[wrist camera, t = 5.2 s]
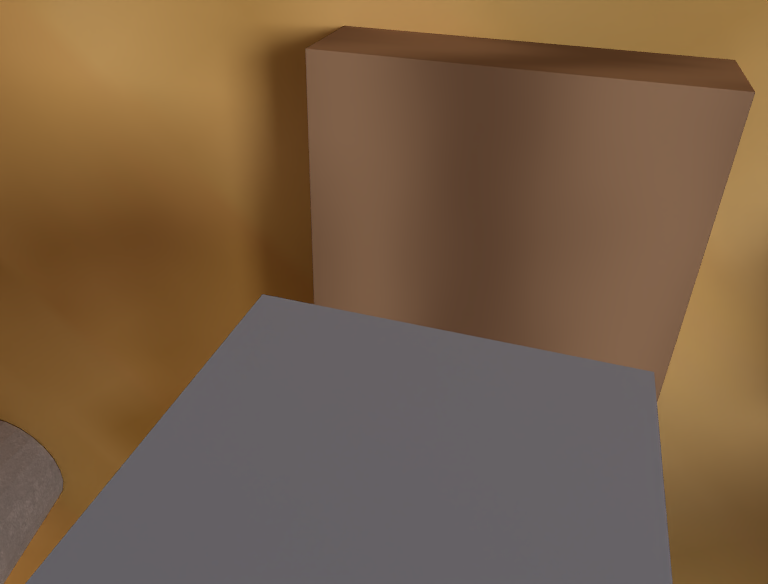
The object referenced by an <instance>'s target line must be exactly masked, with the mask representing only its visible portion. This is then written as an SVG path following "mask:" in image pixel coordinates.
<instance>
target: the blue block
mask: <svg viewBox="0 0 768 584" xmlns="http://www.w3.org/2000/svg"><path fill="white" fill-rule="evenodd" d="M26 584H673V583H672V572H671V560H670V549H669V537H668V526H667V514H666V503H665V491H664V480H663V468H662V457H661V445H660V434H659V422H658V411H657V399H656V388H655V376H654V372H652V371H646V370H641V369H636V368H631V367H626V366H621V365H616V364H611V363H606V362H601V361H596V360H591V359H586V358H581V357H576V356H571V355H566V354H561V353H556V352H551V351H546V350H541V349H536V348H531V347H526V346H521V345H516V344H511V343H506V342H500V341H495V340H490V339H485V338H480V337H475V336H470V335H465V334H460V333H455V332H450V331H445V330H440V329H435V328H430V327H425V326H420V325H415V324H410V323H405V322H400V321H395V320H390V319H385V318H380V317H375V316H370V315H365V314H360V313H355V312H349V311H344V310H339V309H334V308H329V307H324V306H319V305H314V304H309V303H304V302H299V301H294V300H289V299H284V298H279V297H274V296H269V295H264V294H262V296H261V297H260V298H259V299H258V300H257V302H256V303H255V304H254V305H253V307H252V308H251V309H250V310H249V311H248V313H247V314H246V315H245V316H244V318H243V319H242V320H241V321H240V322H239V324H238V325H237V326H236V327H235V329H234V330H233V331H232V332H231V333H230V335H229V336H228V337H227V338H226V340H225V341H224V342H223V343H222V344H221V346H220V347H219V348H218V349H217V351H216V352H215V353H214V354H213V355H212V357H211V358H210V359H209V360H208V361H207V363H206V364H205V365H204V366H203V368H202V369H201V370H200V371H199V372H198V374H197V375H196V376H195V377H194V379H193V380H192V381H191V382H190V383H189V385H188V386H187V387H186V388H185V390H184V391H183V392H182V393H181V394H180V396H179V397H178V398H177V399H176V401H175V402H174V403H173V404H172V405H171V407H170V408H169V409H168V410H167V412H166V413H165V414H164V415H163V416H162V418H161V419H160V420H159V421H158V422H157V424H156V425H155V426H154V427H153V429H152V430H151V431H150V432H149V433H148V435H147V436H146V437H145V438H144V440H143V441H142V442H141V443H140V444H139V446H138V447H137V448H136V449H135V451H134V452H133V453H132V454H131V455H130V457H129V458H128V459H127V460H126V462H125V463H124V464H123V465H122V466H121V468H120V469H119V470H118V471H117V473H116V474H115V475H114V476H113V477H112V479H111V480H110V481H109V482H108V483H107V485H106V486H105V487H104V488H103V490H102V491H101V492H100V493H99V494H98V496H97V497H96V498H95V499H94V501H93V502H92V503H91V504H90V505H89V507H88V508H87V509H86V510H85V512H84V513H83V514H82V515H81V516H80V518H79V519H78V520H77V521H76V523H75V524H74V525H73V526H72V527H71V529H70V530H69V531H68V532H67V534H66V535H65V536H64V537H63V538H62V540H61V541H60V542H59V543H58V544H57V546H56V547H55V548H54V549H53V551H52V552H51V553H50V554H49V555H48V557H47V558H46V559H45V560H44V562H43V563H42V564H41V565H40V566H39V568H38V569H37V570H36V571H35V573H34V574H33V575H32V576H31V577H30V579H29V580H28V581H27V582H26Z"/></svg>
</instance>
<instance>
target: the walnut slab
mask: <svg viewBox="0 0 768 584" xmlns="http://www.w3.org/2000/svg"><path fill="white" fill-rule="evenodd" d="M306 79H307V108H308V138H309V167H310V197H311V227H312V256H313V286H314V305H319V306H324V307H329V308H334V309H339V310H344V311H349V312H355V313H360V314H365V315H370V316H375V317H380V318H385V319H390V320H395V321H400V322H405V323H410V324H415V325H420V326H425V327H430V328H435V329H440V330H445V331H450V332H455V333H460V334H465V335H470V336H475V337H480V338H485V339H490V340H495V341H500V342H506V343H511V344H516V345H521V346H526V347H531V348H536V349H541V350H546V351H551V352H556V353H561V354H566V355H571V356H576V357H581V358H586V359H591V360H596V361H601V362H606V363H611V364H616V365H621V366H626V367H631V368H636V369H641V370H646V371H652V372H654V376H655V388H656V399H657V401H658V398H659V395H660V391H661V388H662V385H663V382H664V379H665V376H666V372H667V369H668V366H669V363H670V360H671V357H672V353H673V350H674V347H675V344H676V341H677V338H678V335H679V331H680V328H681V325H682V322H683V319H684V316H685V312H686V309H687V306H688V303H689V300H690V297H691V293H692V290H693V287H694V284H695V281H696V278H697V275H698V271H699V268H700V265H701V262H702V259H703V256H704V252H705V249H706V246H707V243H708V240H709V237H710V233H711V230H712V227H713V224H714V221H715V218H716V214H717V211H718V208H719V205H720V202H721V199H722V196H723V192H724V189H725V186H726V183H727V180H728V177H729V173H730V170H731V167H732V164H733V161H734V158H735V154H736V151H737V148H738V145H739V142H740V139H741V136H742V132H743V129H744V126H745V123H746V120H747V117H748V113H749V110H750V107H751V104H752V101H753V98H754V94H755V91H754V89H753V88H752V86H751V85H750V83H749V81H748V80H747V78H746V77H745V75H744V73H743V72H742V70H741V69H740V67H739V65H738V64H737V62H736V61H735V60H728V59H717V58H705V57H694V56H682V55H671V54H660V53H648V52H637V51H625V50H614V49H602V48H591V47H580V46H568V45H557V44H545V43H534V42H523V41H511V40H500V39H488V38H477V37H465V36H454V35H443V34H431V33H420V32H408V31H397V30H386V29H374V28H363V27H351V26H343V27H342V28H340V29H338V30H336V31H335V32H333V33H331V34H330V35H328V36H326V37H324V38H323V39H321V40H319V41H318V42H316V43H314V44H312V45H311V46H309V47H307V48H306Z"/></svg>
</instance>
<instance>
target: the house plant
mask: <svg viewBox="0 0 768 584" xmlns="http://www.w3.org/2000/svg"><path fill="white" fill-rule="evenodd" d="M62 490H63V479H62V476H61V472H60V470H59V468H58V466H57V464H56V462H55V461H54V459H53V458H52V457H51V455H50V454H49V453H48V452H47V450H46V449H45V448H44V447H43V446H42V445H41V444H39V443H38V442H37V441H36V440H35V439H34V438H33V437H31V436H30V435H28V434H27V433H25V432H24V431H22V430H21V429H19V428H17V427H15V426H13V425H11V424H9V423H7V422H4V421H0V584H4V582H5V581H6V579H7V577H8V576H9V574H10V573H11V571H12V570H13V568H14V566H15V565H16V563H17V562H18V560H19V559H20V557H21V555H22V554H23V552H24V551H25V549H26V548H27V546H28V544H29V543H30V541H31V540H32V538H33V536H34V535H35V533H36V532H37V530H38V529H39V527H40V525H41V524H42V522H43V521H44V519H45V518H46V516H47V514H48V513H49V511H50V510H51V508H52V507H53V505H54V503H55V502H56V500H57V499H58V497H59V495H60V494H61V492H62Z"/></svg>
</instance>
